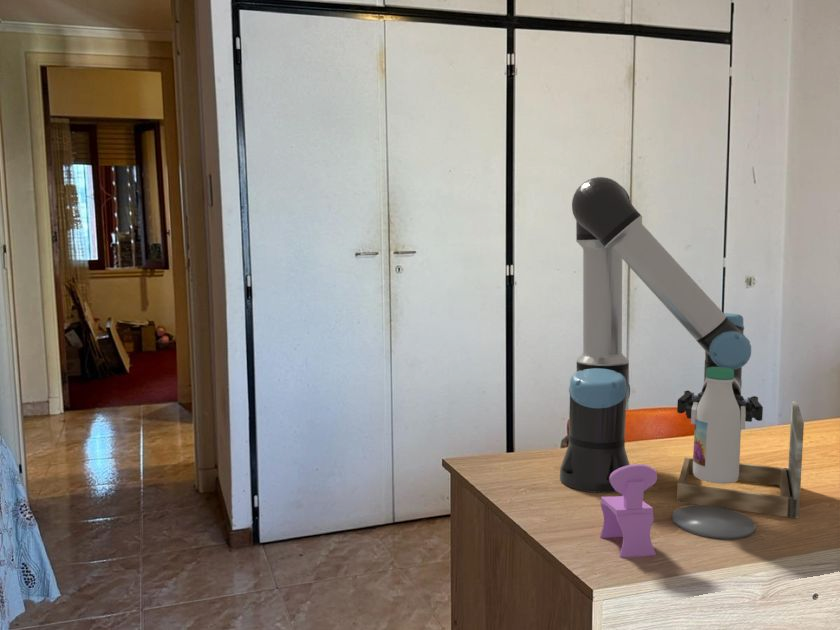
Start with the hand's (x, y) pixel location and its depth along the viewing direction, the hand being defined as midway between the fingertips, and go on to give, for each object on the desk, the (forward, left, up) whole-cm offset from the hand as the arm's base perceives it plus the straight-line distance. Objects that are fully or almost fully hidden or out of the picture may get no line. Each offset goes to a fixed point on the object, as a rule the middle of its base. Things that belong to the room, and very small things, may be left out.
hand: (717, 419), depth 130 cm
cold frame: (+3, +21, -20) cm, 29 cm away
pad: (0, +2, -20) cm, 20 cm away
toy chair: (-13, -14, -20) cm, 28 cm away
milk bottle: (0, +1, -11) cm, 11 cm away
